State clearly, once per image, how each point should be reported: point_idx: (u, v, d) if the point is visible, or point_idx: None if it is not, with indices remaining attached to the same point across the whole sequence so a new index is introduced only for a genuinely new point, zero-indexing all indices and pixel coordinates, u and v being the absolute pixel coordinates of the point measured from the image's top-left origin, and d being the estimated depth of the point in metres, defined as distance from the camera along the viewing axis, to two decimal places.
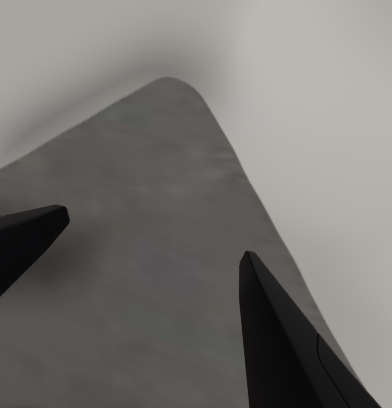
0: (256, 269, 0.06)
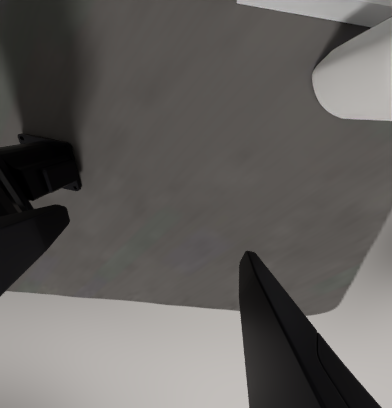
0: (256, 269, 0.06)
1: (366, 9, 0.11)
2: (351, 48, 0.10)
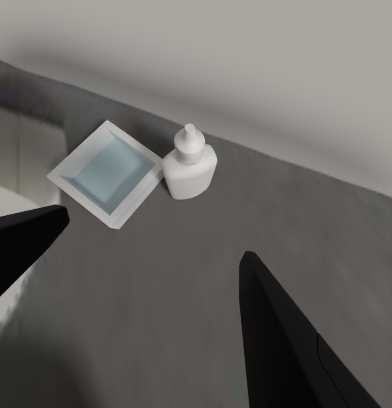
0: (256, 269, 0.06)
1: (159, 174, 0.21)
2: None
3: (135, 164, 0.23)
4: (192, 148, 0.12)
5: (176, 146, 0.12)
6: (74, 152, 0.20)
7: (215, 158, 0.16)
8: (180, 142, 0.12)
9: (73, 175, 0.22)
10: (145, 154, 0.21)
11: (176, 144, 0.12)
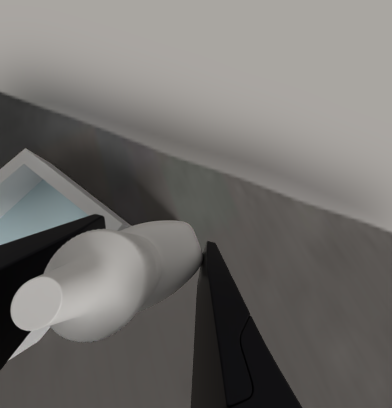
0: (209, 258, 0.06)
1: None
2: None
3: (77, 218, 0.14)
4: (93, 327, 0.03)
5: None
6: None
7: (198, 260, 0.07)
8: None
9: None
10: (85, 209, 0.12)
11: None
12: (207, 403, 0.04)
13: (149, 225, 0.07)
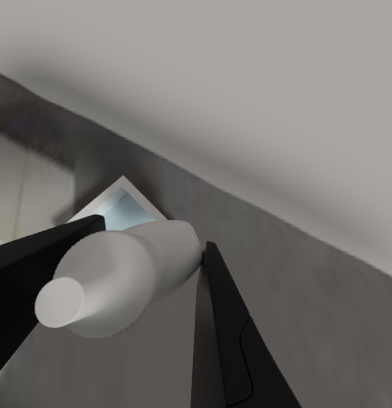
0: (209, 257, 0.06)
1: None
2: None
3: None
4: (106, 323, 0.03)
5: None
6: (80, 213, 0.18)
7: (199, 258, 0.07)
8: None
9: None
10: None
11: None
12: (206, 403, 0.04)
13: (151, 225, 0.07)
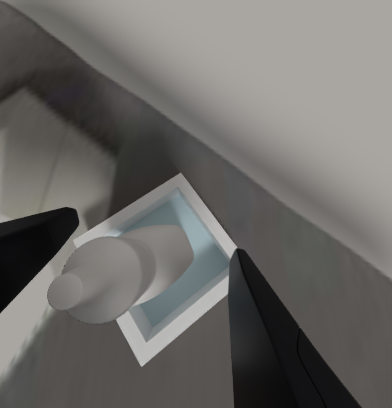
0: (244, 266, 0.06)
1: None
2: None
3: (198, 243, 0.15)
4: (103, 311, 0.04)
5: None
6: (123, 212, 0.14)
7: (188, 258, 0.08)
8: None
9: None
10: (224, 246, 0.13)
11: None
12: None
13: (145, 230, 0.08)
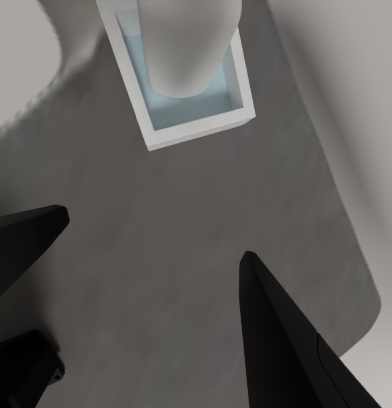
0: (256, 269, 0.06)
1: (234, 123, 0.15)
2: (143, 48, 0.11)
3: (214, 84, 0.16)
4: None
5: None
6: None
7: (239, 10, 0.08)
8: None
9: (130, 31, 0.13)
10: (240, 84, 0.14)
11: None
12: None
13: None
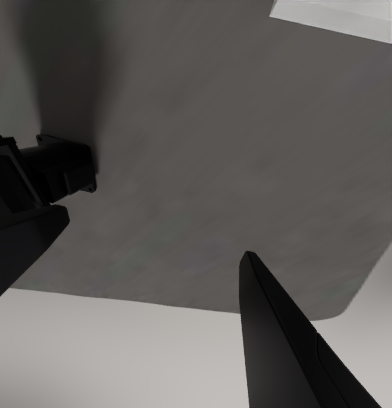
0: (256, 269, 0.06)
1: None
2: None
3: None
4: None
5: None
6: None
7: None
8: None
9: None
10: None
11: None
12: None
13: None
